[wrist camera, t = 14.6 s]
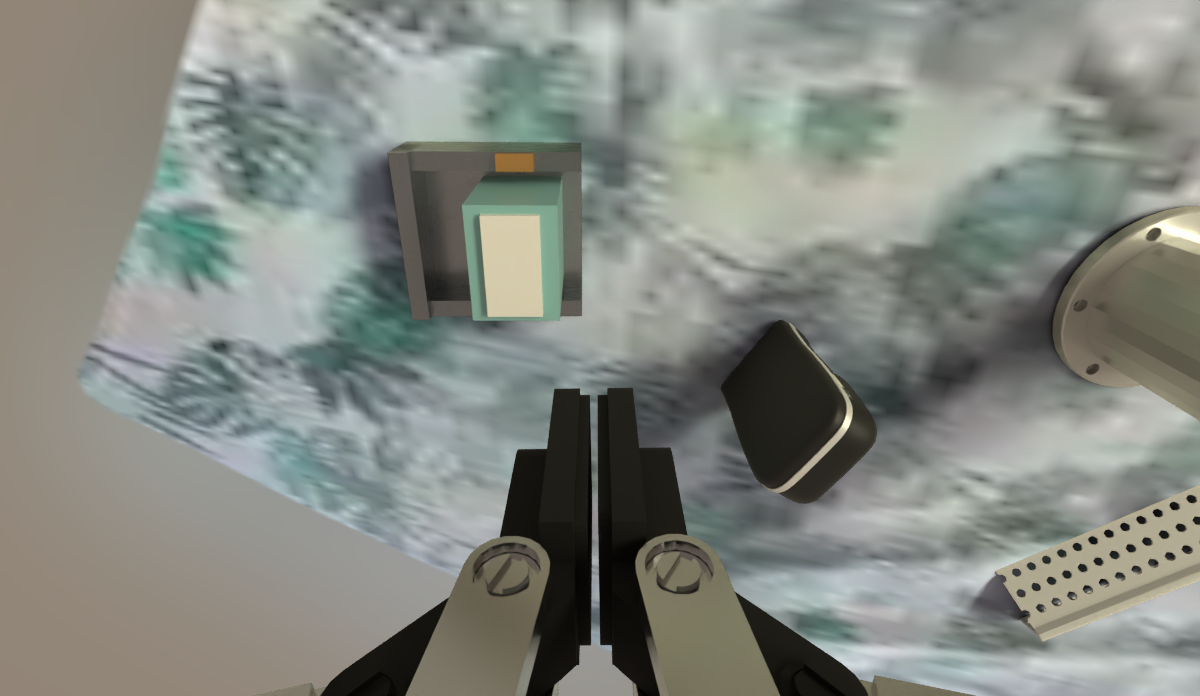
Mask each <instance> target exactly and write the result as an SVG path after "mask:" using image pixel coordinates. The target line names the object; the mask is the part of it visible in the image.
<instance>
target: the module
mask: <svg viewBox="0 0 1200 696" xmlns="http://www.w3.org/2000/svg"><path fill="white" fill-rule="evenodd" d="M462 211H463V222H464V232H465V242H466V253H467V263H468V273H469V284H470V294H471V304H472V315H473V321H560V313H561V301H562V289H563V277H564V257H563V201H562V176H483V178H482V179H481V180H480V182H479V183H478V184H477V186H476V187H475V188H474V190H473V191H472V192H471V194H470V195H469V196H468V198H467V199H466V200H465V202H464V203H463V204H462Z"/></svg>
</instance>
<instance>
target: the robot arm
mask: <svg viewBox="0 0 1200 696" xmlns="http://www.w3.org/2000/svg"><path fill="white" fill-rule="evenodd" d="M1053 340H1054V344H1055V349H1056V351H1057V353H1058V354H1059V356H1060V358H1061V360H1062V361H1063V362H1064V363H1065V364H1066V365H1067V366H1068V367H1069V368H1070V369H1071V370H1072V371H1074V372H1075V373H1077V374H1078V375H1080V376H1081V377H1083V378H1084V379H1086V380H1089V381H1091V382H1094V383H1096V384H1099V385H1105V386H1110V387H1132V386H1138V385H1142V386H1144V387H1145V388H1147V389H1149V390H1150V391H1152V392H1153V393H1155V394H1157V395H1158V396H1160V397H1162V398H1163V399H1165V400H1166V401H1168V402H1170V403H1171V404H1173V405H1175V406H1176V407H1178V408H1179V409H1181V410H1183V411H1184V412H1186V413H1188V414H1189V415H1191V416H1193V417H1194V418H1196V419H1197V420H1199V421H1200V207H1181V208H1175V209H1169V210H1165V211H1162V212H1159V213H1156V214H1153V215H1150V216H1147V217H1145V218H1143V219H1141V220H1139V221H1137V222H1135V223H1133V224H1131V225H1129V226H1127V227H1125V228H1123V229H1122V230H1120V231H1119V232H1117V233H1116V234H1115V235H1113V236H1112V237H1110V238H1109V239H1107V240H1106V241H1105V242H1104V243H1102V244H1101V245H1100V246H1099V247H1098V248H1097V249H1096V250H1094V251H1093V252H1092V253H1091V254H1090V255H1089V256H1088V257H1087V258H1086V259H1085V261H1084V262H1083V263H1082V264H1081V265H1080V266H1079V267H1078V269H1077V270H1076V271H1075V272H1074V274H1073V275H1072V277H1071V279H1070V280H1069V282H1068V283H1067V285H1066V286H1065V288H1064V290H1063V292H1062V294H1061V297H1060V299H1059V301H1058V303H1057V306H1056V310H1055V314H1054V319H1053ZM598 533H599V593H600V645H612V663H613V665H615V666H616V667H617V668H618V669H619V670H620V671H621V672H622V673H623V674H625V675H626V676H627V677H628V678H629V679H630V680H631V681H632V682H633V696H974V695H970V694H965V693H960V692H955V691H950V690H945V689H940V688H935V687H930V686H925V685H920V684H915V683H910V682H905V681H900V680H895V679H890V678H886V677H881V676H876V675H875V676H874V679H873V682H869V681H864V680H859V679H858V678H857V677H856V675H855V674H854V673H852V672H851V671H850V670H849V669H848V668H846V667H845V666H844V665H843V664H842V663H840V662H839V661H837V660H836V659H834V658H833V657H831V656H830V655H828V654H827V653H825V652H824V651H822V650H821V649H819V648H818V647H816V646H815V645H813V644H812V643H810V642H809V641H807V640H806V639H804V638H803V637H801V636H800V635H799V634H797V633H796V632H794V631H793V630H791V629H790V628H788V627H787V626H785V625H784V624H782V623H781V622H779V621H778V620H776V619H775V618H773V617H772V616H770V615H769V614H767V613H766V612H764V611H763V610H761V609H760V608H758V607H757V606H755V605H754V604H752V603H751V602H749V601H748V600H746V599H745V598H743V597H742V596H740V595H739V594H737V593H736V592H735V591H734V589H733V587H732V584H731V582H730V580H729V577H728V575H727V573H726V571H725V568H724V566H723V564H722V561H721V560H720V558H719V556H718V555H717V553H716V552H715V550H713V549H712V548H711V547H710V546H709V545H707V544H706V543H705V542H703V541H701V540H699V539H697V538H695V537H692V536H687V531H686V526H685V520H684V515H683V509H682V504H681V499H680V493H679V488H678V483H677V477H676V472H675V466H674V461H673V456H672V451H671V449H670V448H639V443H638V434H637V425H636V415H635V406H634V396H633V388H608V389H607V395H598ZM591 580H592V472H591V428H590V395H580V389H555V390H554V397H553V405H552V413H551V422H550V430H549V438H548V446H547V449H518V451H517V453H516V458H515V463H514V468H513V473H512V478H511V483H510V488H509V493H508V499H507V504H506V509H505V514H504V519H503V524H502V529H501V534H500V538H496V539H492V540H490V541H488V542H486V543H484V544H482V545H480V546H479V547H478V548H477V549H476V550H474V551H473V552H472V553H471V554H470V556H469V557H468V559H467V560H466V562H465V563H464V565H463V568H462V570H461V572H460V574H459V577H458V579H457V581H456V583H455V586H454V588H453V590H452V592H451V595H450V597H449V598H447V599H446V600H444V601H443V602H441V603H440V604H439V605H437V606H436V607H434V608H433V609H431V610H430V611H428V612H427V613H426V614H424V615H423V616H421V617H420V618H418V619H417V620H416V621H414V622H413V623H411V624H410V625H408V626H407V627H405V628H404V629H403V630H401V631H400V632H398V633H397V634H395V635H394V636H392V637H391V638H390V639H388V640H387V641H385V642H384V643H382V644H381V645H379V646H378V647H377V648H375V649H374V650H372V651H371V652H369V653H368V654H366V655H365V656H364V657H362V658H361V659H359V660H358V661H356V662H355V663H353V664H352V665H351V666H349V667H348V668H346V669H345V670H344V671H342V672H341V673H340V674H339V675H338V676H337V677H335V678H334V679H333V680H332V681H331V682H330V683H329V684H328V686H327V687H323V688H319V689H314V688H313V685H312V683H308V684H303V685H299V686H294V687H290V688H286V689H282V690H277V691H273V692H268V693H264V694H259V695H255V696H558V685H559V684H558V682H559V680H561V679H562V678H563V677H564V676H565V675H566V674H567V673H568V672H569V671H570V670H572V669H573V668H574V667H575V666H576V665H579V651H580V649H579V648H580V645H591Z"/></svg>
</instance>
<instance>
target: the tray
mask: <svg viewBox="0 0 1200 696" xmlns="http://www.w3.org/2000/svg"><path fill="white" fill-rule="evenodd" d="M388 159H389V166H390V172H391V179H392V186H393V192H394V199H395V206H396V212H397V219H398V226H399V232H400V239H401V246H402V252H403V259H404V266H405V272H406V279H407V286H408V292H409V299H410V306H411V312H412V319H413V320H430V318H431V316H473V315H472V304H471V294H470V284H469V273H468V263H467V253H466V242H465V232H464V222H463V211H462V204H463V203H464V202H465V200H466V199H467V198H468V196H469V195H470V194H471V192H472V191H473V190H474V188H475V187H476V186H477V184H478V183H479V182H480V180H481V179H482V178H483V176H562V201H563V257H564V277H563V289H562V301H561V313H560V316H582V213H581V143H517V142H406V143H404V144H402V145H400V146H399V147H397V148H395V149H393V150H392V151H390V152H388Z"/></svg>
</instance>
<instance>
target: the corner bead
mask: <svg viewBox="0 0 1200 696" xmlns="http://www.w3.org/2000/svg"><path fill="white" fill-rule="evenodd" d="M1188 495H1192V496H1194V497H1195V498H1196V502H1194V503H1189V502H1188V501H1187V500H1186V497H1187V496H1188ZM1171 502H1176V503H1177V504H1178V505H1179V509H1177V510H1172V509H1171V508H1170V506H1169V505H1170V503H1171ZM1155 509H1159V510H1161V511H1162V516H1161V517H1155V516H1154V514H1153V510H1155ZM1138 516H1142V517H1144V518H1145V519H1146V522H1145V524H1139V523H1138V522H1137V521H1136V518H1137V517H1138ZM1194 516H1197V517H1200V485H1198V486H1196V487H1194V488H1191V489H1189V490H1186V491H1184V492H1182V493H1179V494H1177V495H1175V496H1172V497H1170V498H1167V499H1165V500H1163V501H1160V502H1158V503H1156V504H1153V505H1151V506H1148V507H1146V508H1144V509H1141V510H1139V511H1137V512H1134V513H1132V514H1130V515H1127V516H1125V517H1122V518H1120V519H1118V520H1115V521H1113V522H1111V523H1108V524H1106V525H1103V526H1101V527H1099V528H1096V529H1094V530H1092V531H1089V532H1087V533H1084V534H1082V535H1080V536H1077V537H1075V538H1073V539H1070V540H1068V541H1066V542H1063V543H1061V544H1058V545H1056V546H1054V547H1051V548H1049V549H1047V550H1044V551H1042V552H1039V553H1037V554H1035V555H1032V556H1030V557H1028V558H1025V559H1023V560H1020V561H1018V562H1016V563H1013V564H1011V565H1009V566H1006V567H1004V568H1002V569H999V570H997V571H996V573H997V575H1004V576H1005V577H1006V581H1005V582H1003V584H1004V585H1005V587H1006V588H1007V590H1008V591H1009V593H1010V594H1011V596H1012V597H1013V599H1014V600H1015V602H1016V603H1017V605H1018V606H1019V608H1020V609H1021V611H1023V610H1027V611H1028V612H1029V613H1030V615H1028V616H1025V617H1023V618H1020V620H1021V621H1022V622H1023V623H1024V624H1025V625H1026V626H1027V627H1029V628H1030V629H1031V630H1032V631H1033V632H1034V633H1035V634H1036V635H1037V636H1038V637H1039V638H1040V640H1041V641H1045V640H1047V639H1050V638H1053V637H1055V636H1058V635H1060V634H1063V633H1066V632H1068V631H1071V630H1073V629H1076V628H1078V627H1081V626H1084V625H1086V624H1089V623H1091V622H1094V621H1096V620H1099V619H1102V618H1104V617H1107V616H1109V615H1112V614H1114V613H1117V612H1120V611H1122V610H1125V609H1127V608H1130V607H1132V606H1135V605H1138V604H1140V603H1143V602H1145V601H1148V600H1151V599H1153V598H1156V597H1158V596H1161V595H1163V594H1166V593H1169V592H1171V591H1174V590H1176V589H1179V588H1181V587H1184V586H1187V585H1189V584H1192V583H1194V582H1197V581H1199V580H1200V544H1199V541H1200V525H1196V524H1195V523H1194V522H1193V521H1192V520H1193V518H1194ZM1121 523H1127V524H1128V525H1129V530H1127V531H1122V529H1121V528H1120V525H1121ZM1177 523H1179V524H1183V525H1184V526H1185V531H1183V532H1178V531H1177V529H1176V528H1175V527H1176V525H1177ZM1108 529H1109V530H1111V531H1112V532H1113V537H1110V538H1107V537H1106V536H1105V535H1104V531H1105V530H1108ZM1161 530H1163V531H1167V533H1168V538H1166V539H1162V538H1161V537H1160V536H1159V535H1158V534H1159V532H1160V531H1161ZM1091 536H1094V537H1096V538H1097V543H1096V544H1094V545H1093V544H1090V542H1089V541H1088V539H1089V537H1091ZM1144 537H1148V538H1150V539H1151V541H1152V543H1151V545H1148V546H1146V545H1144V544H1143V542H1142V540H1143V538H1144ZM1074 543H1079V544H1081V548H1082V550H1079V551H1075V550H1074V549H1073V547H1072V546H1073V544H1074ZM1127 544H1132V545H1134V547H1135V551H1134V552H1128V551H1127V550H1126V546H1127ZM1184 545H1188V546H1189V547H1190V548H1191V549H1192V550H1191V551H1188V552H1186V553H1184V552H1183V551H1182V550H1181V549H1182V547H1183V546H1184ZM1060 549H1062V550H1064V551H1066V556H1065V557H1063V558H1061V557H1059V556H1058V554H1057V551H1058V550H1060ZM1111 551H1117V552H1118V554H1119V557H1118V558H1117V559H1112V558H1111V557H1110V555H1109V554H1110V552H1111ZM1166 552H1171V553H1173V555H1174V556H1175V557H1173V558H1171V559H1168V560H1167V559H1166V558H1165V557H1164V556H1165V554H1166ZM1043 556H1048V557H1050V559H1051V563H1048V564H1045V563H1043V561H1042V557H1043ZM1095 557H1098V558H1101V559H1102V561H1103V564H1102V565H1100V566H1098V565H1095V563H1094V562H1093V560H1094V559H1095ZM1150 559H1155V560H1156V561H1157V562H1158V564H1156V565H1153V566H1152V567H1150V565H1149V564H1148V561H1149V560H1150ZM1029 562H1032V563H1034V564H1035V567H1036V569H1034V570H1029V569H1028V567H1027V563H1029ZM1079 564H1085V565H1086V567H1087V571H1085V572H1080V571H1079V569H1078V566H1079ZM1133 565H1134V566H1139V567H1140V569H1141V571H1138V572H1137V573H1135V574H1134V573H1133V572H1132V570H1131V569H1132V567H1133ZM1015 568H1016V569H1019V570H1020V572H1021V574H1020V576H1017V577H1016V576H1014V575H1013V574H1012V570H1013V569H1015ZM1064 570H1067V571H1070V573H1071V577H1070V578H1068V579H1066V578H1064V577H1063V575H1062V573H1063V571H1064ZM1117 572H1121V573H1123V575H1124V576H1125V577H1123V578H1121V579H1120V580H1119V579H1118V580H1117V579H1116V577H1115V575H1116V573H1117ZM1048 577H1054V579H1055V580H1056V583H1055V584H1053V585H1050V584H1048V582H1047V581H1046V580H1047V578H1048ZM1100 579H1106V580H1107V581H1108V584H1106V585H1105V586H1104V585H1103V586H1101V585H1100V584H1099V581H1100ZM1033 583H1038V584H1039V585H1040V587H1041V588H1040V590H1039V591H1034V590H1033V589H1032V587H1031V586H1032V584H1033ZM1085 585H1088V586H1091V588H1092V590H1091V591H1088V592H1086V593H1085V592H1084V591H1083V587H1084V586H1085ZM1018 589H1022V590H1024V591H1025V596H1024V597H1019V596H1018V595H1017V594H1016V592H1017V590H1018ZM1069 591H1070V592H1074V593H1075V594H1076V595H1077V596H1076V597H1073V598H1071V599H1069V598H1068V597H1067V594H1068V592H1069ZM1053 598H1059V600H1060V601H1061V603H1058V604H1055V605H1053V604H1052V602H1051V601H1052V599H1053ZM1038 604H1042V605H1044V606H1045V609H1043V610H1040V611H1037V609H1036V606H1037V605H1038Z"/></svg>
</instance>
